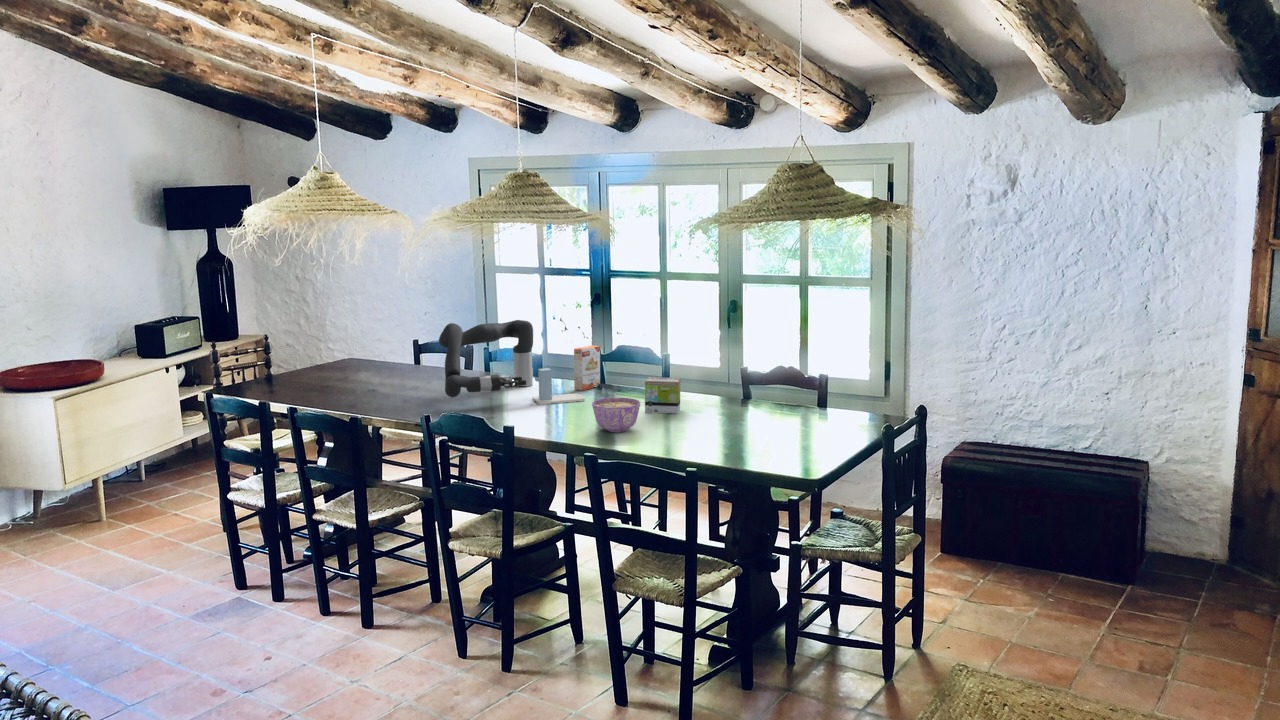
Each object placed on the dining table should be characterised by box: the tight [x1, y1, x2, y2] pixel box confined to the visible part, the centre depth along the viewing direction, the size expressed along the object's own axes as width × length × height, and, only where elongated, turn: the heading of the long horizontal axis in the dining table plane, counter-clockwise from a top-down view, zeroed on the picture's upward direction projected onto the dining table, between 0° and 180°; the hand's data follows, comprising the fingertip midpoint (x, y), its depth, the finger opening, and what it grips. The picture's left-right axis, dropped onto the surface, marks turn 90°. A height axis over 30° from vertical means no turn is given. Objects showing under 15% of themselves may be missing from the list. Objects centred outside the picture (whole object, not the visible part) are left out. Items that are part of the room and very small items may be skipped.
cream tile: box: [531, 393, 586, 405], centre depth 466 cm, size 13×22×1 cm, turn 110°
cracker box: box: [573, 345, 601, 392], centre depth 491 cm, size 14×6×21 cm, turn 143°
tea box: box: [644, 376, 681, 414], centre depth 439 cm, size 15×10×15 cm, turn 82°
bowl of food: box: [591, 397, 641, 433], centre depth 406 cm, size 20×20×12 cm
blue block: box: [537, 367, 553, 400], centre depth 462 cm, size 5×5×14 cm
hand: (523, 380), depth 458 cm, fingers open, 8 cm apart
